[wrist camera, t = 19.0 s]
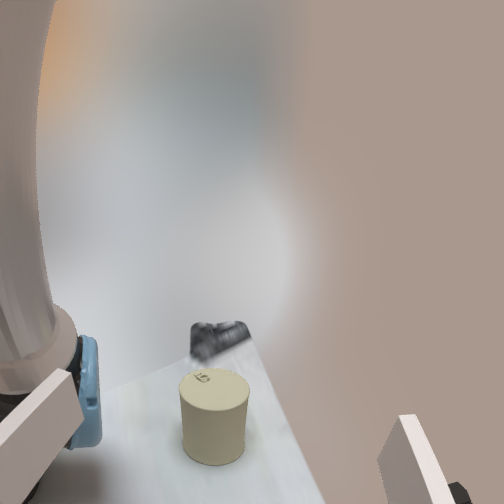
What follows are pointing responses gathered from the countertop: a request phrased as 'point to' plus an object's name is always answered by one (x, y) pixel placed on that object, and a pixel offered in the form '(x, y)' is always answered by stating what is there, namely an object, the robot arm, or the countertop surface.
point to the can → (213, 415)
